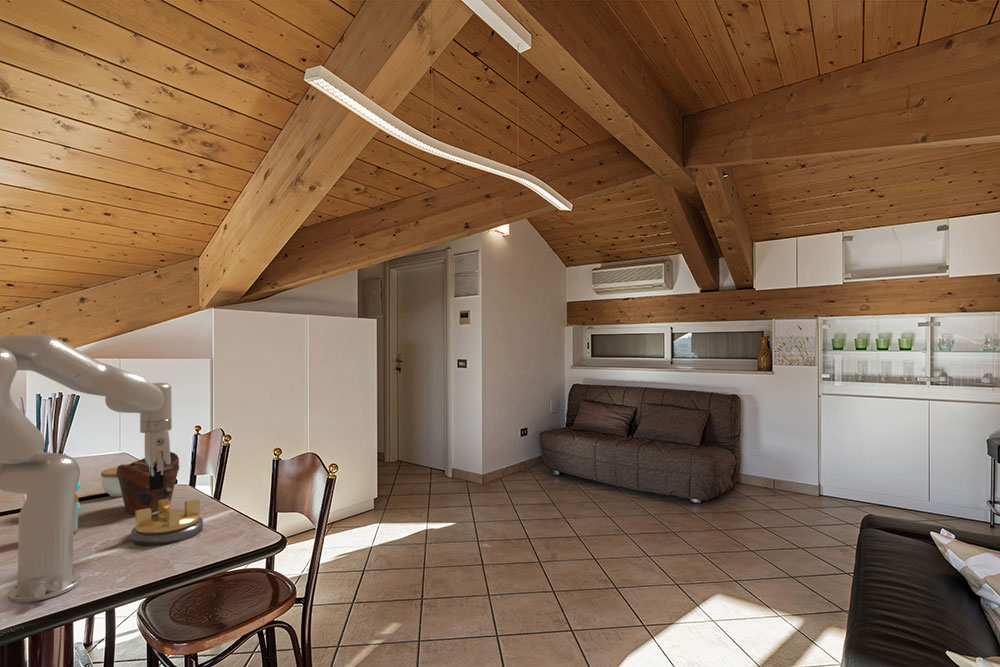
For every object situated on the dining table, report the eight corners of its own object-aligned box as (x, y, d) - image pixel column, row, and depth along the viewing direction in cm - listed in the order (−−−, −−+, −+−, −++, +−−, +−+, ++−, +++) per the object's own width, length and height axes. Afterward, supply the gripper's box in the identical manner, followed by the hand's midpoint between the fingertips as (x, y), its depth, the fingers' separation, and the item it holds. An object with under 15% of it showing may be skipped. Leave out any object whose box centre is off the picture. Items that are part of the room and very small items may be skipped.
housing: (209, 534, 150) (210, 514, 150) (136, 551, 137) (137, 529, 137) (194, 518, 163) (194, 500, 163) (126, 533, 150) (126, 513, 150)
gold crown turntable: (205, 525, 150) (205, 505, 150) (140, 539, 139) (141, 518, 139) (191, 512, 161) (192, 493, 161) (131, 524, 150) (131, 504, 150)
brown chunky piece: (106, 521, 160) (108, 464, 160) (123, 502, 178) (125, 452, 179) (171, 514, 167) (173, 460, 168) (182, 497, 185) (183, 449, 186)
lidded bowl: (119, 488, 195) (119, 460, 195) (150, 489, 195) (150, 460, 195) (91, 498, 183) (92, 468, 183) (124, 499, 182) (125, 469, 182)
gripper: (177, 427, 142) (177, 491, 142) (165, 420, 152) (165, 480, 153) (145, 431, 137) (145, 498, 137) (135, 423, 147) (135, 485, 147)
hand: (156, 488), depth 145 cm, fingers closed
